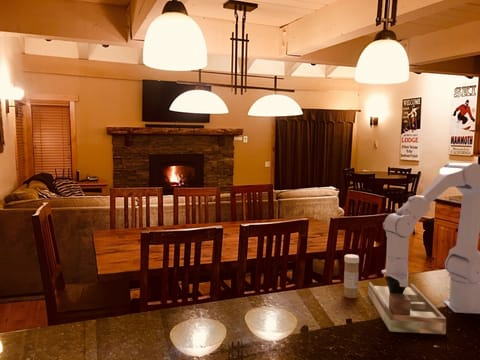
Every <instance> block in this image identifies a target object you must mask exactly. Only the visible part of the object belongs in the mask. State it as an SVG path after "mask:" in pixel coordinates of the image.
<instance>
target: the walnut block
mask: <svg viewBox="0 0 480 360" xmlns="http://www.w3.org/2000/svg"><path fill="white" fill-rule="evenodd" d="M410 307H411V300H410V298H409V297H408V296H407V294H398V293H389V310H390V311H391V313H392V315H408V316H410Z"/></svg>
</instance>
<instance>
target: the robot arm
mask: <svg viewBox="0 0 480 360" xmlns="http://www.w3.org/2000/svg"><path fill="white" fill-rule="evenodd" d="M438 171H439V173H438V174H437V176H436V177H435V178H434V180H432V182H430V184H429V185H427V186H426V188H425V189H424V190H423V191H422V192H421V194H420V195H417V194H416V195H413V196H409V197H408V198H407V201H406V202H405V203H404V204H403V205H401V207H400V208H398V209H397V210H396V212H395V213H394V212H393V213H390V214H389V215H387V216H386V218H385V219H384V222H382V227H383V229H384V231H385V236H386V257H385V259H386V265H385V269H382V270H381V273H382V274H383V275H386V276H384V280H385V282H386V284H387V287H388V288H389V293H398V294H403V292H404V290H405V288H406V287H409V246H410V245H409V244H410V235H412V234H413V233H414V231H415V227H416V225H417V223H418V222H419V221H420V220H421V218H423V217H424V216H425V215H426V214H427V213H428V212H429V211H430V209H431V208H430V207H431V206H430V205H431V203H433V202H434V201H435V200H436V199H437V198H438V197H440V196H441V195H442V194H443V193H444V192H445V191H447V190H448V189H449V188H456V189H457V190H458V191H459V192H460V194H462V197H461V207H460V212H459V214H460V215H459V222H458V230H457V237H456V244H455V246H453V247H452V248H451V249H449V251H448V256H447V258H446V259H445V261H444V267H445V270H446V272H448V276H449V277H450V279H449V282H450V283H449V298H448V300H443V303H444V304H445V305H446V306H448V308H449V309H451V311H453V312H454V313H462V314H463V313H464V314H479V315H480V250H478V246H479V237H480V164H479V163H476V162H475V163H474V162H473V163H472V162H471V163H467V162H454V161H449V162H447V163H445V164H444V166H443V167H441V168H439V170H438Z"/></svg>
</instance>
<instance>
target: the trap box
mask: <svg viewBox="0 0 480 360" xmlns="http://www.w3.org/2000/svg"><path fill="white" fill-rule="evenodd" d="M409 286H410V287H409ZM409 286H408V287H406V288H405V290H404V292H403V294H407V296H408V297H409V298H410V300H411V307H410V316H408V315H392V313H391V311H390V310H389V288H388V285H387V286H384V285H383V286H382V285H374V284H373V283H372V282H371V281H368V293H367V295H368V297H369V298H370V300H371V302H372V304H373V305H374V307H375V309H376V311H377V312H378V314H379V315H380V317H381V319H382V321H383V322H384V324H385V326H386V328H387V329H388V331H389V332H392V333H393V332H397V333H414V334H415V333H417V334H431V335H432V334H433V335H434V334H435V335H446V332H447V331H446V330H447V318H446V317H445V316H444V315H443V313H441V312H440V310H438V308H437V307H436V306H435V305H434V304H433V303H432V302H431V301H430V300H429V299H428V298H427V296H425V295H424V294H423V293H422V292H421V291H420V289H419V288H418V287H417V286H416V285H415V284H414V283H410V285H409Z"/></svg>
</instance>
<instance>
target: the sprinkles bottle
mask: <svg viewBox="0 0 480 360" xmlns="http://www.w3.org/2000/svg"><path fill="white" fill-rule="evenodd" d="M343 258H344V259H343V260H344V274H343V275H344V276H343V286H344V287H343V296H344V297H345V298H347V299H356V298H358V297H359V292H358V288H359V263H360V257H359V255H357V254H354V253H353V254H352V253H351V254H348V253H347V254H345V255H344V257H343Z"/></svg>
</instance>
